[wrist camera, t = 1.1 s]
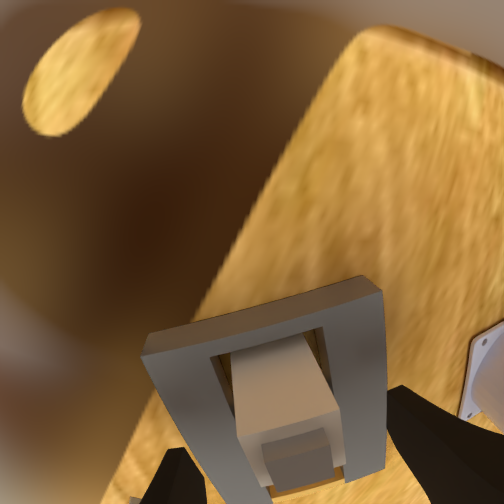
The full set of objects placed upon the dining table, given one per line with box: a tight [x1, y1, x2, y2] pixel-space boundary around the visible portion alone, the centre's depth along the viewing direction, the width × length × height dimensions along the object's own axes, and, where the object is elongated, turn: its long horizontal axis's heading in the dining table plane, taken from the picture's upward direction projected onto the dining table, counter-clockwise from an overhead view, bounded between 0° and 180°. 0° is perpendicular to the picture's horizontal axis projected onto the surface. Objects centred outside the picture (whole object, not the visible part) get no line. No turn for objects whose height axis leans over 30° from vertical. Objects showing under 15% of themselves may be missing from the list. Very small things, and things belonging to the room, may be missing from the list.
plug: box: [230, 333, 346, 493], centre depth 12 cm, size 3×3×7 cm
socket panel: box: [140, 275, 387, 504], centre depth 15 cm, size 10×13×2 cm
